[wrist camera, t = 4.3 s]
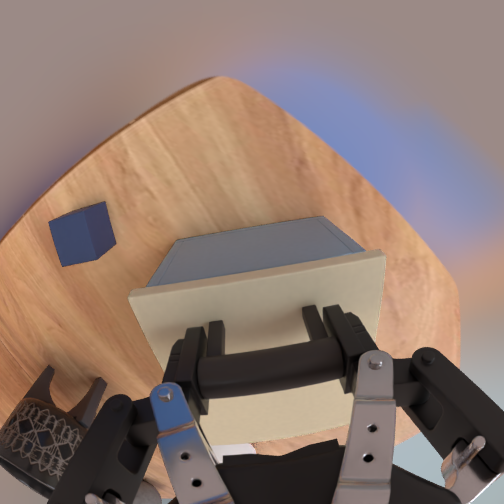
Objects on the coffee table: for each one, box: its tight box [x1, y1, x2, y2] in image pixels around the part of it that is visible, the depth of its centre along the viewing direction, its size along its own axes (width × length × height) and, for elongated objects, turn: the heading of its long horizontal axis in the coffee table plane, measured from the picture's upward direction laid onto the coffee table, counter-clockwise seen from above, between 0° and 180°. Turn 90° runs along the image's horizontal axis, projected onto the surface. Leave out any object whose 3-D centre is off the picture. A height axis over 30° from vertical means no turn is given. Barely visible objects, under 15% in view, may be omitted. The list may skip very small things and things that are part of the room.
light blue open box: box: [146, 216, 366, 287], centre depth 22 cm, size 16×13×9 cm
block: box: [48, 201, 116, 267], centre depth 20 cm, size 4×4×4 cm
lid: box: [127, 249, 386, 446], centre depth 14 cm, size 16×13×5 cm
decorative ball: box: [133, 481, 162, 504], centre depth 36 cm, size 10×10×10 cm
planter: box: [0, 365, 107, 499], centre depth 21 cm, size 13×13×18 cm
